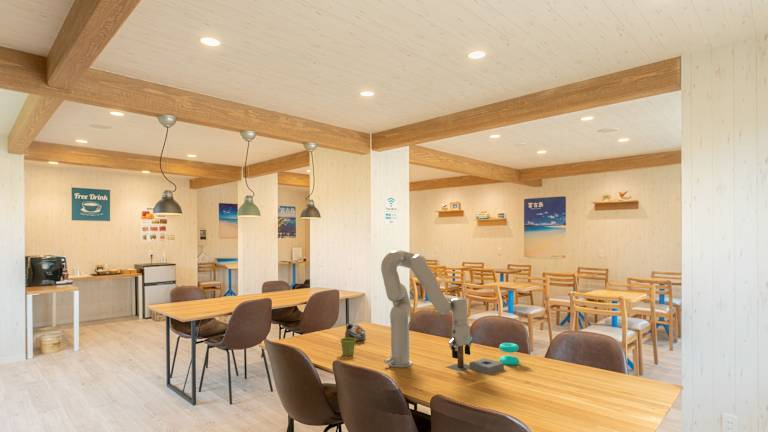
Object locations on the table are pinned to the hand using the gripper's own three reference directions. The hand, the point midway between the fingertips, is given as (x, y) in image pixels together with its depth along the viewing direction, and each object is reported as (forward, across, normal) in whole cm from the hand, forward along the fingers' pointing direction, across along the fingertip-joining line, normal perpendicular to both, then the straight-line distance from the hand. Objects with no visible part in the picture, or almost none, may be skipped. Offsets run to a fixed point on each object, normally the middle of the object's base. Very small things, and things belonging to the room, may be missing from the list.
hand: (461, 356), depth 226 cm
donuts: (+7, +25, -12) cm, 28 cm away
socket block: (+6, +7, -11) cm, 14 cm away
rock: (+5, -3, +87) cm, 87 cm away
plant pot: (+5, -28, +60) cm, 67 cm away
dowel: (+6, 0, 0) cm, 6 cm away
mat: (+6, 0, 0) cm, 6 cm away
